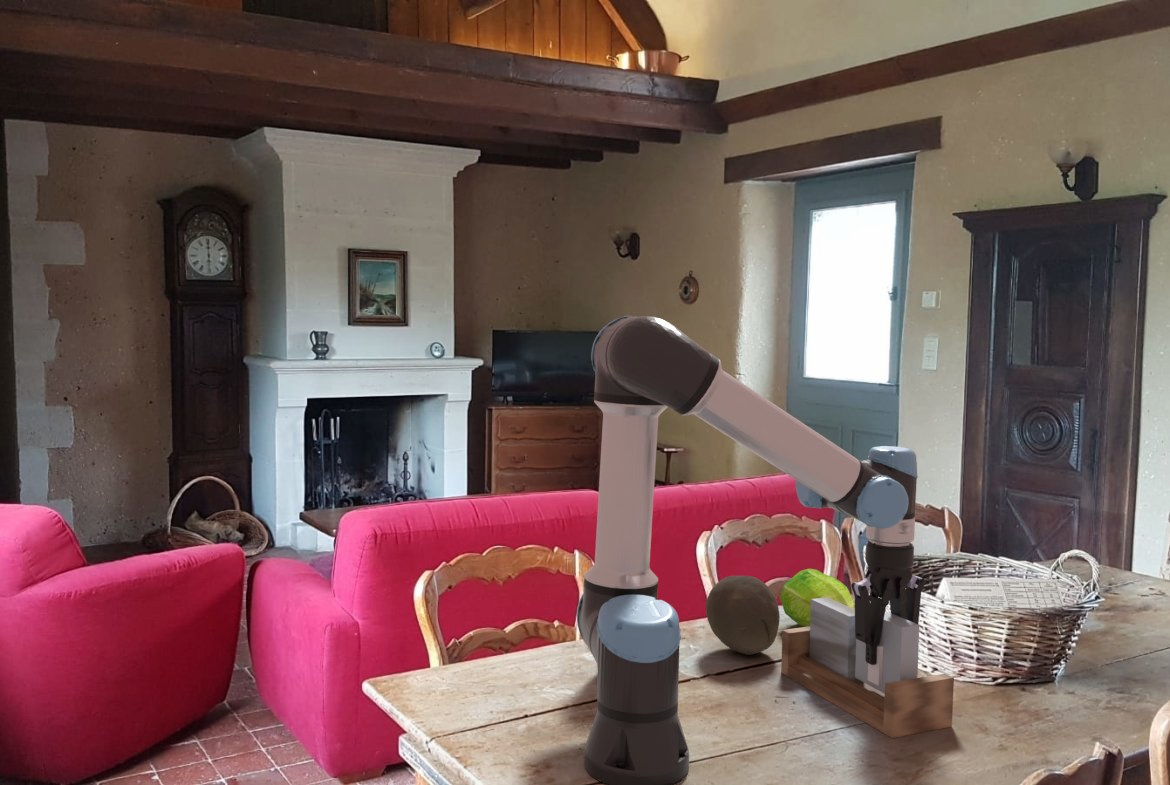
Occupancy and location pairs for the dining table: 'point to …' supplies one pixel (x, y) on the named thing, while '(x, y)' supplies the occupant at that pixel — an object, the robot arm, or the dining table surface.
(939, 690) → the wooden slotted stand
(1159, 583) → the dining table surface
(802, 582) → the lettuce
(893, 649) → the gray angular faceted block
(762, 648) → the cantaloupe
